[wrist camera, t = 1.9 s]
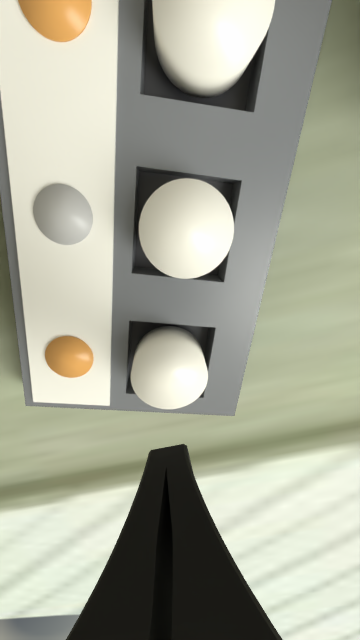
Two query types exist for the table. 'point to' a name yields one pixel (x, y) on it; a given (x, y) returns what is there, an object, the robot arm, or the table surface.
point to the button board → (136, 191)
